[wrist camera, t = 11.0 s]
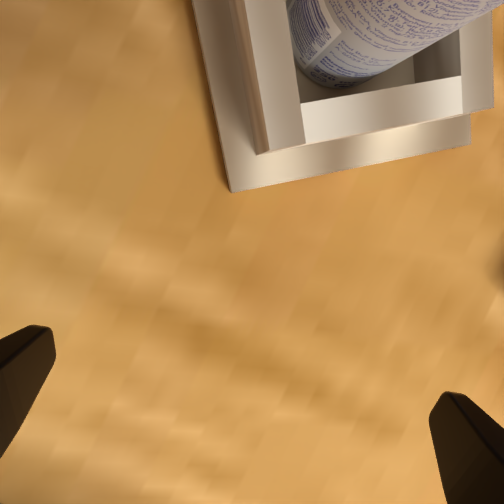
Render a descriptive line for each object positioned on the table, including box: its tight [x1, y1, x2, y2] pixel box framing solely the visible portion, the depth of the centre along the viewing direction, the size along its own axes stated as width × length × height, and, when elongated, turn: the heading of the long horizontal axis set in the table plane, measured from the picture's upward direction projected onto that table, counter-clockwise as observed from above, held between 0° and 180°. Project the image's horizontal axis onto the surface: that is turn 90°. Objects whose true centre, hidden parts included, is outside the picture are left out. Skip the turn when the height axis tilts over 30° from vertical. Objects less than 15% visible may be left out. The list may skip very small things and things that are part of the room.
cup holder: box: [191, 0, 494, 193], centre depth 15 cm, size 13×13×4 cm
